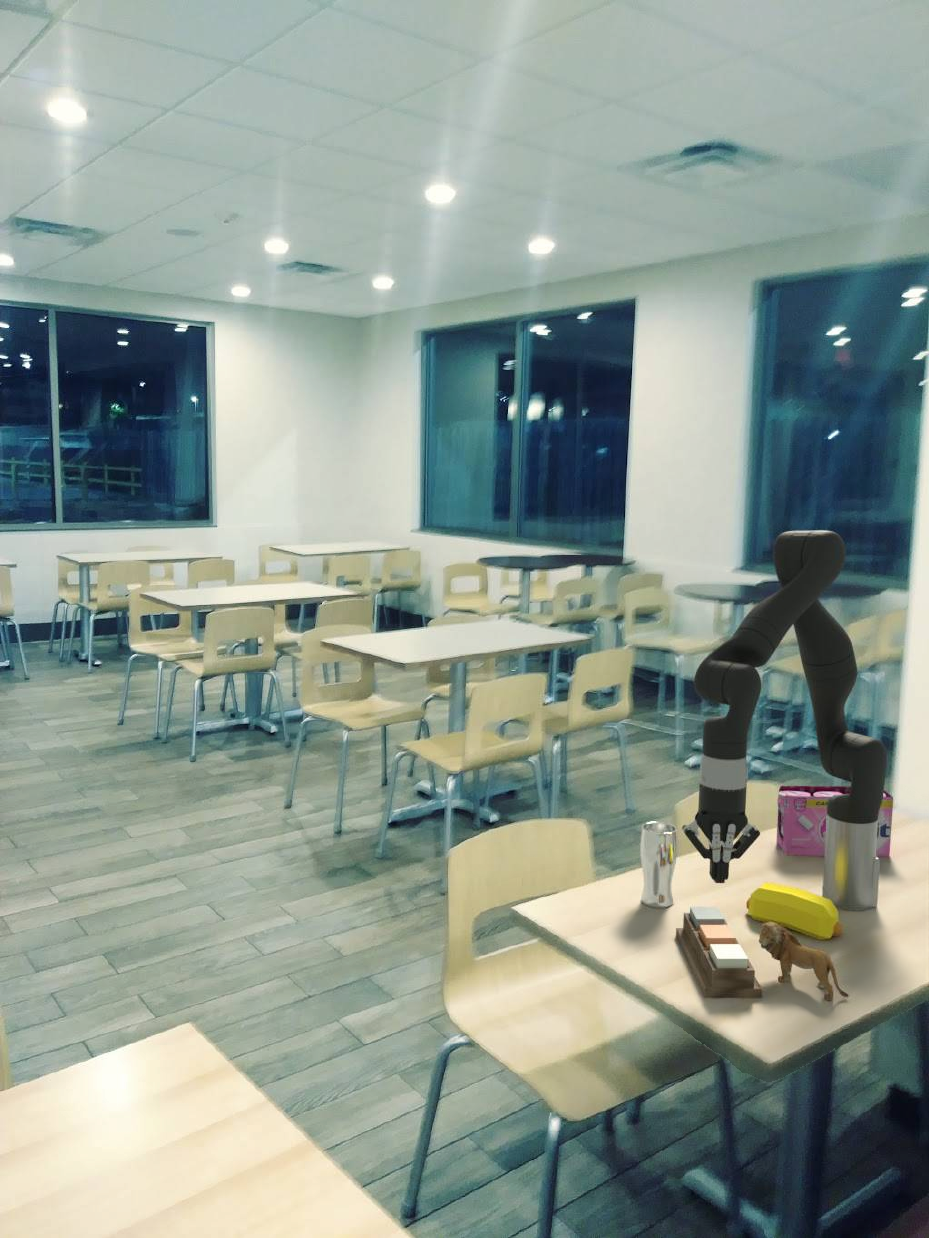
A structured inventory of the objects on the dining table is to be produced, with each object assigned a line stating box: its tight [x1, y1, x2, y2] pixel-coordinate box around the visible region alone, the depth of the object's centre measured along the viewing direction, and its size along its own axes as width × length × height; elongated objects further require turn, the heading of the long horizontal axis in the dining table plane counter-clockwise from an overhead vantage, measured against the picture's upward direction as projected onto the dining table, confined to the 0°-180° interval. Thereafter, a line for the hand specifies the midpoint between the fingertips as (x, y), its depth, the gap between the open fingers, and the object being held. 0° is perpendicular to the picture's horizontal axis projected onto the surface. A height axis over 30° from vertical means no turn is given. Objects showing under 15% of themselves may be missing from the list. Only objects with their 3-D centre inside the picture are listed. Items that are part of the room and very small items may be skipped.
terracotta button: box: [699, 924, 737, 947], centre depth 163 cm, size 5×5×3 cm
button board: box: [675, 912, 763, 999], centre depth 163 cm, size 9×21×4 cm, turn 0°
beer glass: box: [639, 821, 678, 909], centre depth 187 cm, size 7×7×15 cm
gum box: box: [776, 785, 894, 858], centre depth 214 cm, size 24×8×14 cm, turn 89°
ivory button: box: [710, 943, 749, 968], centre depth 156 cm, size 5×5×3 cm
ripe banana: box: [746, 881, 844, 941], centre depth 178 cm, size 18×7×8 cm
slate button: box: [689, 906, 725, 928], centre depth 170 cm, size 5×5×3 cm
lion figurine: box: [758, 922, 850, 1001], centre depth 157 cm, size 15×5×9 cm, turn 51°
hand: (718, 881), depth 162 cm, fingers closed
